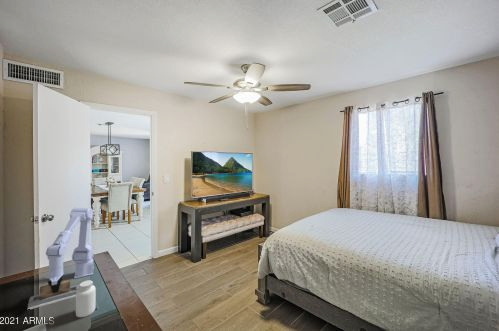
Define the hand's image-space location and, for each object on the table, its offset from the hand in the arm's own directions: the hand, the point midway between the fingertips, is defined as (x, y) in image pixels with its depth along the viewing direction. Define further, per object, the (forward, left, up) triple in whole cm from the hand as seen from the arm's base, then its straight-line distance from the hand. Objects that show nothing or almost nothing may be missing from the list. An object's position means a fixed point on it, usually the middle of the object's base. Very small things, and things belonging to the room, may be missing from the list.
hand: (55, 290), depth 114 cm
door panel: (0, 0, -3) cm, 3 cm away
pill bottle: (-13, +20, -4) cm, 24 cm away
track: (0, 0, -4) cm, 4 cm away
